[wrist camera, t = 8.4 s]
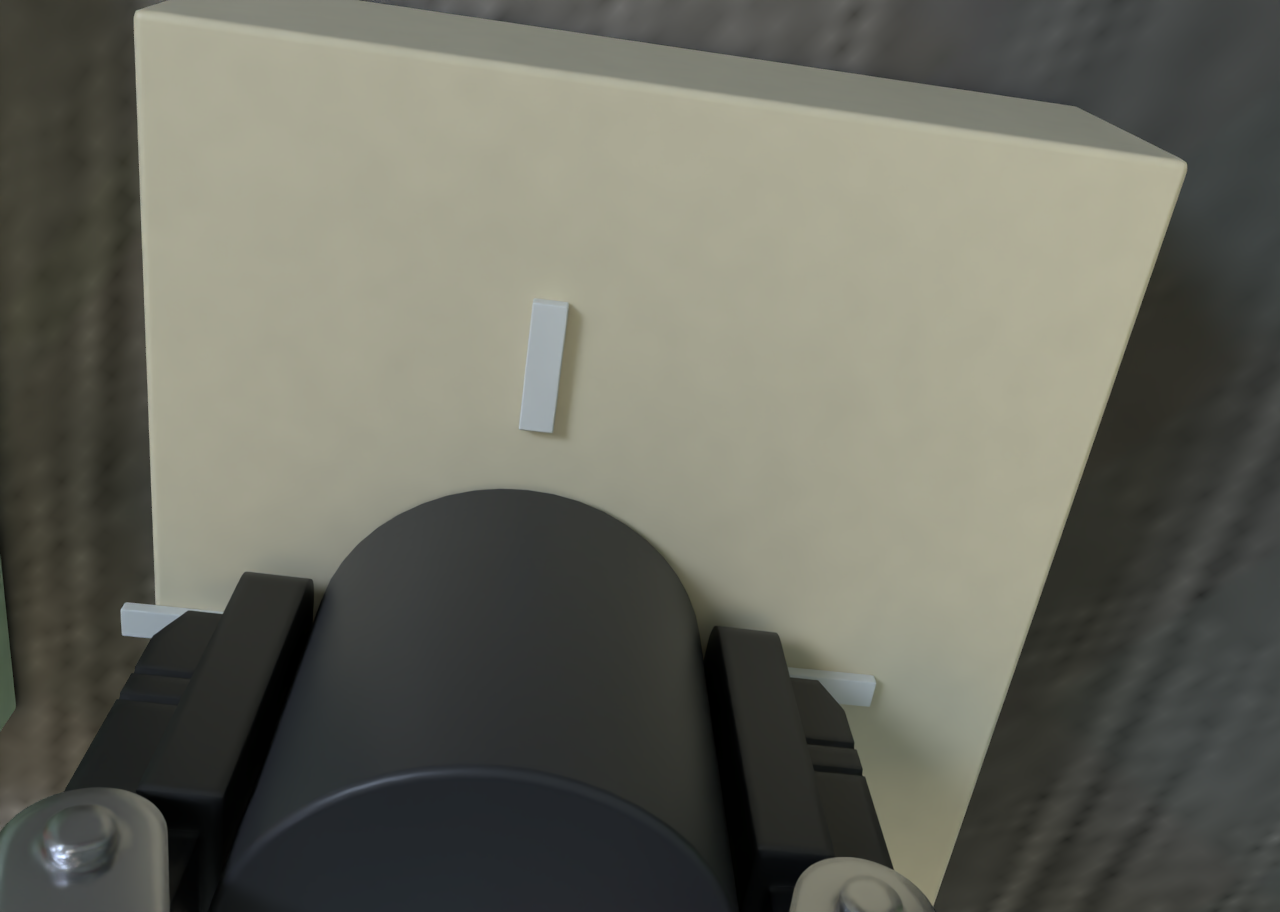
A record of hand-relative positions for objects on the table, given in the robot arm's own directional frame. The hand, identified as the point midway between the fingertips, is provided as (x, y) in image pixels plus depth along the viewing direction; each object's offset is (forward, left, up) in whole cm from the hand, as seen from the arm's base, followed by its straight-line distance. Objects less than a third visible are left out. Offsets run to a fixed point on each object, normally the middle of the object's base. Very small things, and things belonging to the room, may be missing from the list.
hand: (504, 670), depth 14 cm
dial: (0, 0, 0) cm, 0 cm away
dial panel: (0, +1, -3) cm, 3 cm away
